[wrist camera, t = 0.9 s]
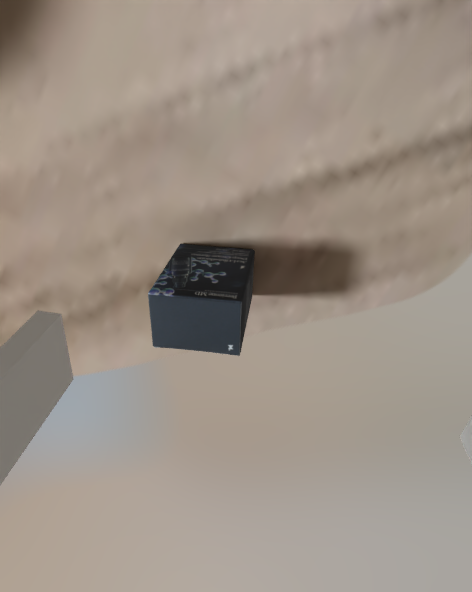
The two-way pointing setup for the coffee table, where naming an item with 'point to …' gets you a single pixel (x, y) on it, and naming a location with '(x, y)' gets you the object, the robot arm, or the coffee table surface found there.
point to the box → (203, 299)
